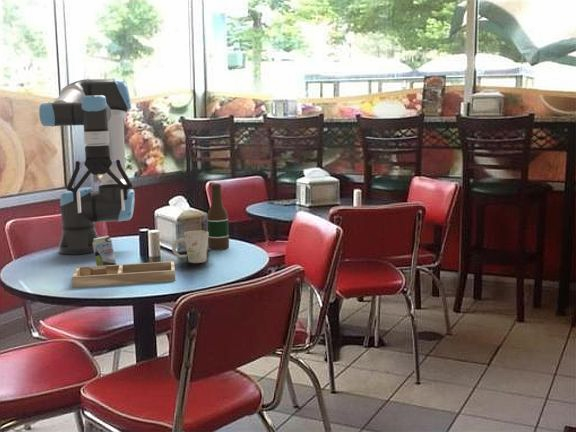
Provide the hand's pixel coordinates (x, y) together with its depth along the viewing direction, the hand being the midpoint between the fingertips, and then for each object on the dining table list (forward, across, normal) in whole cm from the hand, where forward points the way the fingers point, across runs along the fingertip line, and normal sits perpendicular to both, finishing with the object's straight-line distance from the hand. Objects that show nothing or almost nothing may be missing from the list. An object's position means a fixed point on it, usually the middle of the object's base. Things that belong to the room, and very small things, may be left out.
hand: (101, 211), depth 227 cm
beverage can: (+20, 0, 0) cm, 21 cm away
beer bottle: (+20, +39, +28) cm, 52 cm away
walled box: (+20, +7, -13) cm, 25 cm away
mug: (+20, +28, +8) cm, 36 cm away
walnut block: (+19, -1, -13) cm, 24 cm away
